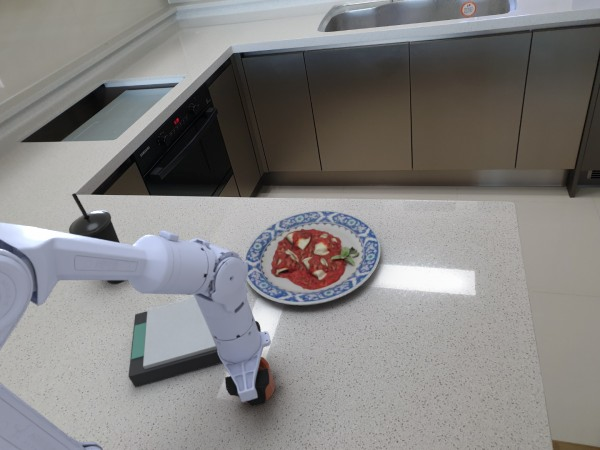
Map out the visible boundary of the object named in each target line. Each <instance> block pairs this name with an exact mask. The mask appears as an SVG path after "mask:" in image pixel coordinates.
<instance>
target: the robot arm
mask: <svg viewBox="0 0 600 450" xmlns="http://www.w3.org/2000/svg"><path fill="white" fill-rule="evenodd" d="M179 238H180V236H179V234H177V233H174V232H171V231H169V230H163V229H162V230H160V231H159V234H158V235H156V234H147V235H144V236H140V238H138V239H137V240H136V241H135V242H134V243H133V244H128V243H123V242H120V243H118V242H112V241H107V240H102V239H96V238H91V237H85V236H80V235H74V234H70V233H69V232H63V231H57V230H52V229H51V230H50V229H46V228H41V227H36V226H30V225H22V224H15V223H7V222H1V221H0V351H1V350H2V348H3V346H4V345H5V344H6V342H7V341H8V340H9V338H10V336H11V335H12V333H13V332H14V330H15V328H16V327H17V326H18V325H19V323H20V321H21V320H22V318H23V316H24V315H25V312H26V311H27V309H28V307H29V305H30V303H33V304H34V305H35V306H37V307H39V306H42V305H43V304H45V303H46V301H47V300H48V298H49V297H50V295H51V293H52V292H53V290H54V288H55V287H56V286H57V284H58V283H59V282H61V281H107V280H124V281H128V283H129V284H130V286H131V287H132V288H133V289H134V290H135V291H136V292H138V293H140V294H145V295H146V294H147V295H148V294H149V295H150V294H151V295H179V296H180V295H181V296H182V295H184V296H193V297H195V299H196V301H197V303H198V306H199V308H200V310H201V313H202V315H203V317H204V319H205V322H206V324H207V326H208V329H209V331H210V333H211V335H212V338H213V340H214V342H215V345H216V347H217V352H218V355H219V358H220V360H221V361H222V363H221V364H222V365H223V366H224V368H225V369H226V371H227V374H228V375H229V376H226V377H224V380H225V381H224V383H225V389H226V391H227V393H228V395H229V396H232V397H233V396H234V397H238V398H239V400H240V401H241V403H244V402H245V401H246V402H247V403H248V404H247V403H246V404H247V405H249V406H250V407H256V406H260V405H263V404H265V403H266V402H267V401H266V392H265V391H266V387H267V386H268V384H269V372H268V368H266V369H262V370H259V371H258V367H259V363H260V359H261V357H262V355H263V351H264V348H266V347H269V346H270V345H271V344H272V343H271V342H272V341H271V335H270V333H269V331H267V330H264V331H262V330H261V324H260V322H259V321H257V320H256V319H255V317H254V314H253V310H252V308H251V305H250V302H249V298H248V294H247V293H248V288H247V280H246V279H247V274H248V264H247V261H245V262H244V261H243V260H244V259H242V257H241V256H240V254H239V253H237V252H235V251H233V250H230V249H227V248H225V247H223V246H219V245H216V244H214V243H211V241H209V240H206V239H204V238H199V237H195V238H191V239H190V240H186V239H185V240H184V239H179ZM0 450H104V449H103V447H102V446H101V445H100V444H99V443H97V442H95V441H79V440H77V439H75V438H74V437H73V436H71V435H70V436H69V434H67V433H65V431H63V430H62V429H61V428H59V427H58V426H57V425H56V424H54V423H53V422H52V421H50V420H49V419H48V418H47V417H45V416H44V415H43V414H41V412H39V411H37V410H36V409H35V408H33V407H32V406H31V405H30V404H29V403H27V402H26V401H25V400H24V399H23V398H21V397H20V396H18V394H16V393H15V392H13V391H12V390H11V389H10V388H8V387H7V386H5V385H4V384H3V383H2V382H0Z"/></svg>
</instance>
